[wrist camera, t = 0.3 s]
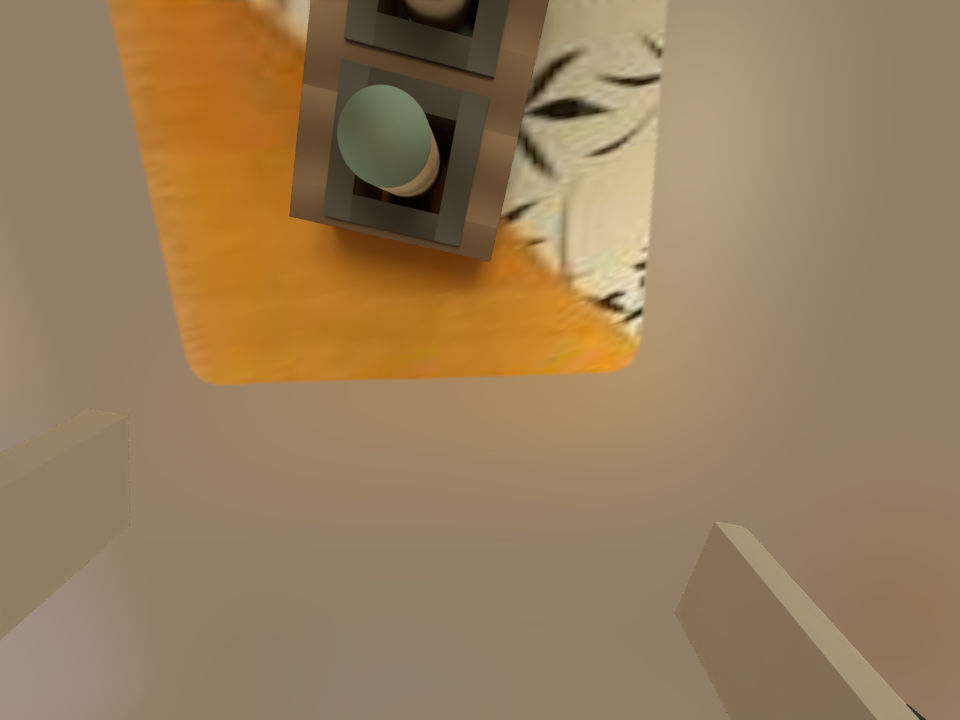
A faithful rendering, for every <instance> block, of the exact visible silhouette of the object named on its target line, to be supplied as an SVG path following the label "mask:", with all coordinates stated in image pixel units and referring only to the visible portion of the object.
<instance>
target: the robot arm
mask: <svg viewBox="0 0 960 720" xmlns="http://www.w3.org/2000/svg"><path fill="white" fill-rule="evenodd" d="M129 501H130V499H129V416H127V415H121V414H116V413H110V412H105V411H99V410H94V409H89V410H87V411H85V412H83V413H81V414H79V415H77V416H75V417H72V418H70V419H69V420H66V421H64V422H62V423H60V424H58V425H56V426H54V427H52V428H50V429H48V430H46V431H44V432H42V433H40V434H38V435H35V436H33V437H31V438H29V439H27V440H25V441H23V442H21V443H19V444H17V445H15V446H13V447H11V448H9V449H7V450H5V451H3V452H1V453H0V640H1V639H2V638H3V637H4V636H5V635H6V634H7V633H9V632H10V631H11V630H12V629H13V628H14V627H15V626H17V625H18V624H19V623H20V622H21V621H22V620H23V619H24V618H26V617H27V616H28V615H29V614H30V613H31V612H32V611H34V610H35V609H36V608H37V607H38V606H39V605H40V604H41V603H43V602H44V601H45V600H46V599H47V598H48V597H49V596H50V595H52V594H53V593H54V592H55V591H56V590H57V589H58V588H60V587H61V586H62V585H63V584H64V583H65V582H66V581H67V580H69V579H70V578H71V577H72V576H73V575H74V574H75V573H76V572H78V571H79V570H80V569H81V568H82V567H83V566H84V565H86V564H87V563H88V562H89V561H90V560H91V559H92V558H93V557H95V556H96V555H97V554H98V553H99V552H100V551H101V550H102V549H104V548H105V547H106V546H107V545H108V544H109V543H110V542H111V541H113V540H114V539H115V538H116V537H117V536H118V535H119V534H121V533H122V532H123V531H124V530H125V529H126V528H127V527H128V526H130V502H129ZM675 614H676V616H677V618H678V620H679V622H680V624H681V626H682V628H683V630H684V631H685V633H686V635H687V637H688V639H689V641H690V643H691V645H692V647H693V648H694V650H695V652H696V654H697V656H698V658H699V660H700V662H701V664H702V666H703V668H704V670H705V671H706V673H707V675H708V677H709V679H710V681H711V683H712V684H713V687H714V688H715V690H716V692H717V694H718V696H719V698H720V700H721V702H722V704H723V706H724V708H725V709H726V711H727V713H728V715H729V717H730V719H731V720H926V719H925V718H923V717H922V716H921V715H920V714H919V713H917V712H916V711H915V710H914V709H913V708H912V707H910V706H909V705H908V704H905V703H904V702H903V701H902V700H901V698H899V696H898V695H897V694H896V693H895V692H894V691H893V690H892V689H891V687H890V686H889V685H888V684H887V683H886V682H885V681H884V680H883V679H882V677H880V675H879V674H878V673H877V672H876V671H875V670H874V669H873V668H872V667H871V665H870V664H869V663H868V662H867V661H866V660H865V659H864V658H863V657H862V655H861V654H860V653H859V652H858V651H857V650H856V649H855V648H854V647H853V646H852V644H851V643H850V642H849V641H848V640H847V639H846V638H845V637H844V636H843V634H842V633H841V632H840V631H839V630H838V629H837V628H836V627H835V626H834V625H833V623H832V622H831V621H830V620H829V619H828V618H827V617H826V616H825V615H824V614H823V612H822V611H821V610H820V609H819V608H818V607H817V606H816V605H815V604H814V602H813V601H812V600H811V599H810V598H809V597H808V596H807V595H806V594H805V593H804V591H803V590H802V589H801V588H800V587H799V586H798V585H797V584H796V583H795V582H794V580H793V579H792V578H791V577H790V576H789V575H788V574H787V573H786V572H785V570H784V569H783V568H782V567H781V566H780V565H779V564H778V563H777V562H776V560H775V559H774V558H773V557H772V556H771V555H770V554H769V553H768V552H767V551H766V549H765V548H764V547H763V546H762V545H761V544H760V543H759V542H758V541H757V540H756V538H755V537H754V536H753V535H752V534H751V533H750V532H749V531H748V530H747V529H746V528H745V527H742V526H737V525H731V524H726V523H720V522H714V525H713V526H712V529H711V531H710V534H709V536H708V538H707V540H706V543H705V545H704V547H703V549H702V552H701V554H700V556H699V559H698V561H697V564H696V566H695V568H694V570H693V572H692V575H691V577H690V579H689V582H688V584H687V586H686V588H685V591H684V593H683V595H682V598H681V600H680V602H679V605H678V607H677V609H676V612H675Z"/></svg>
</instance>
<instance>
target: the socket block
mask: <svg viewBox="0 0 960 720" xmlns="http://www.w3.org/2000/svg"><path fill="white" fill-rule="evenodd" d="M473 1H476V2H479V5H478V10H477V15H476V21H475V26H474V31H473V37H468V36H464V35H460V34H457V33H453V32H449V31H446V30H442V29H438V28H434V27H431V26H427V25H423V24H420V23H416V22H412V21H408V20H409V16H408V14H407V12H406V10H405V7H404V5H403V1H402V0H311V3H310V13H309V23H308V33H307V43H306V53H305V63H304V73H303V84H302V94H301V104H300V114H299V124H298V134H297V144H296V154H295V165H294V175H293V185H292V195H291V205H290V215H289V216H290V217H294V218H299V219H303V220H308V221H312V222H316V223H321V224H325V225H330V226H334V227H338V228H343V229H347V230H352V231H356V232H360V233H365V234H369V235H374V236H378V237H382V238H387V239H391V240H396V241H400V242H404V243H409V244H413V245H418V246H422V247H426V248H431V249H435V250H440V251H444V252H448V253H453V254H457V255H462V256H466V257H470V258H475V259H479V260H484V261H488V262H490V260H491V255H492V251H493V246H494V242H495V237H496V233H497V228H498V224H499V220H500V215H501V211H502V206H503V202H504V197H505V193H506V188H507V184H508V180H509V175H510V171H511V166H512V162H513V157H514V153H515V148H516V144H517V140H518V135H519V131H520V126H521V122H522V117H523V113H524V108H525V104H526V99H527V95H528V91H529V86H530V82H531V77H532V73H533V68H534V64H535V59H536V55H537V51H538V46H539V42H540V37H541V33H542V28H543V24H544V19H545V15H546V11H547V6H548V2H549V0H473ZM373 85H389V86H393V87H396V88H399V89H401V90H403V91H405V92H406V93H407V94H409V95H410V96H411V97H412V98H414V99H415V101H416V102H417V103H418V104H419V105H420V107H421V108H422V110H423V112H424V113H425V115H426V118H427V120H428V123H429V126H430V128H431V131H432V133H433V136H434V138H435V141H436V142H440V143H444V144H448V145H452V148H451V154H450V159H449V164H448V169H447V175H446V180H445V185H444V191H443V196H442V201H441V207H440V212H439V214H435V213H430V212H426V211H422V210H418V209H413V208H409V207H405V206H401V205H396V204H392V203H388V202H383V201H381V198H382V191H383V189H381V188H379V187H376V186H374V185H372V184H370V183H368V182H365V181H364V180H362V179H361V178H359V177H358V176H357V175H356V174H355V173H354V172H353V171H352V170H351V169H350V168H349V167H348V165H347V164H346V162H345V160H344V159H343V156H342V154H341V152H340V148H339V145H338V138H337V127H338V121H339V117H340V114H341V112H342V109H343V107H344V106H345V104H346V103H347V101H348V100H349V99H350V98H351V97H352V96H353V95H354V94H355V93H357V92H358V91H360V90H361V89H364V88H366V87H369V86H373Z"/></svg>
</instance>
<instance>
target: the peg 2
mask: <svg viewBox="0 0 960 720" xmlns="http://www.w3.org/2000/svg"><path fill="white" fill-rule="evenodd" d="M402 1H403V5H404V7H405V10H406V12H407V14H408V16H409V17H410V19H411V20H412V21H413V22H416V23H420V24H423V25H427V26H431V27H434V28H438V29H442V30H446V31H449V32H452V31H454V30H456V29H457V28H458V27H460V26H461V25H462V24H463V22H464V21H465V20H466V18H467V17H468V15H469V13H470V10H471V8H472V4H473V0H402Z"/></svg>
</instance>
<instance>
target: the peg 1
mask: <svg viewBox="0 0 960 720" xmlns="http://www.w3.org/2000/svg"><path fill="white" fill-rule="evenodd" d="M337 138H338V145H339V148H340V152H341V154H342V156H343V159H344V160H345V162H346V164H347V165H348V167H349V168H350V169H351V170H352V171H353V172H354V173H355V174H356V175H357V176H358V177H359V178H361V179H362V180H364V181H365V182H368V183H370V184H372V185H374V186H376V187H379V188H381V189H383V190H385V191H387V192H390V193H392V194H394V195H396V196H399V197H401V198H406V199H416V198H420V197H423V196H425V195H426V194H428V193H429V192H431V191H432V190H433V189H434V187H435V186H436V185H437V183H438V181H439V179H440V176H441V172H442V159H441V154H440V151H439V149H438V146H437V144H436V141H435V138H434V136H433V133H432V131H431V128H430V126H429V123H428V120H427V118H426V115H425V113H424V112H423V110H422V108H421V107H420V105H419V104H418V103H417V102H416V101H415V99H414V98H412V97H411V96H410V95H409V94H407V93H406V92H405V91H403V90H401V89H399V88H396V87H393V86H389V85H373V86H369V87H366V88H364V89H361V90H360V91H358V92H357V93H355V94H354V95H353V96H352V97H351V98H350V99H349V100H348V101H347V103H346V104H345V106H344V107H343V109H342V112H341V114H340V117H339V121H338V127H337Z"/></svg>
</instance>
